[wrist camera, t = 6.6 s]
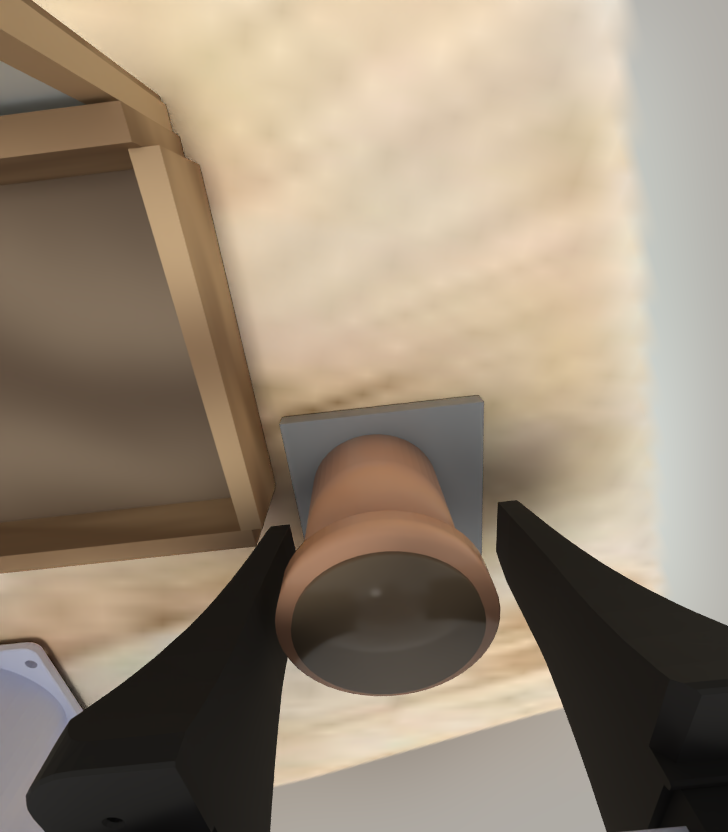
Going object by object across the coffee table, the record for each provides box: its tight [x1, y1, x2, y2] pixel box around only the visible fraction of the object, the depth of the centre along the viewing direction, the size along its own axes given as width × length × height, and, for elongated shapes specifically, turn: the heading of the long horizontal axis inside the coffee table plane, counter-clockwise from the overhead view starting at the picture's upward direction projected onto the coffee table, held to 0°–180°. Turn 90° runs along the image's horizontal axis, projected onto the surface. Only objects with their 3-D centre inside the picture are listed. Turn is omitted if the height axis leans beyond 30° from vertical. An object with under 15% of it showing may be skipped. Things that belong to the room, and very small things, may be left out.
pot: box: [275, 434, 500, 696], centre depth 12 cm, size 5×5×6 cm
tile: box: [279, 395, 484, 556], centre depth 15 cm, size 7×7×1 cm
